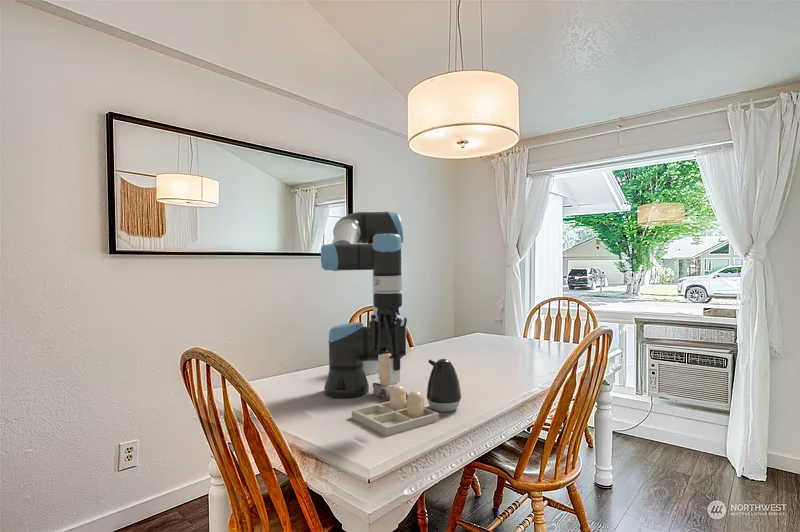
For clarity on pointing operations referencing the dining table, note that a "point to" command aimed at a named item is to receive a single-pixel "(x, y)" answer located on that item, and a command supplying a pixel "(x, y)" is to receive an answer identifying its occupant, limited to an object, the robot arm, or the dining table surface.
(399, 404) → the beige domed cylinder
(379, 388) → the mineral rock
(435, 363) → the pump dispenser
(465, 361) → the dining table surface
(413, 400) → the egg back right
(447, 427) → the dining table surface
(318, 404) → the dining table surface
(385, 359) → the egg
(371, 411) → the egg tray
